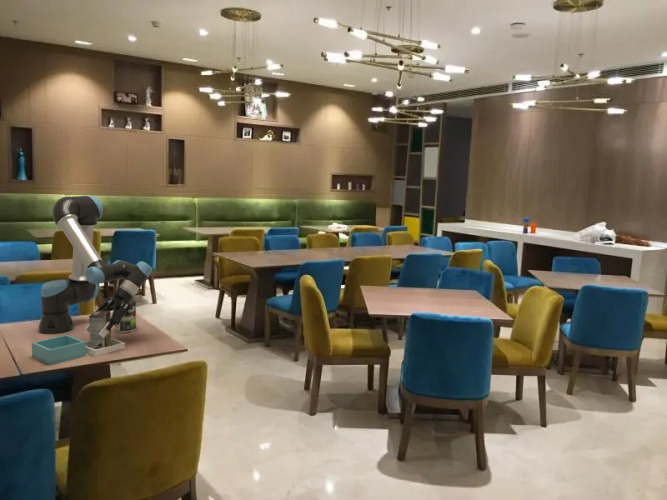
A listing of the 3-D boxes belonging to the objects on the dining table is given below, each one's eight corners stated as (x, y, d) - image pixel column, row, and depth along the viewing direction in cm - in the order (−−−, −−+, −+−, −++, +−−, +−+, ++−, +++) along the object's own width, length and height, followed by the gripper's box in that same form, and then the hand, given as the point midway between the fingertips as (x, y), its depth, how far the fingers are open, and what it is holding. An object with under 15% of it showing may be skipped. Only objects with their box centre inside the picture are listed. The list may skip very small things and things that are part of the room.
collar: (77, 349, 243) (77, 343, 242) (107, 341, 254) (107, 336, 253) (94, 356, 234) (94, 350, 234) (124, 348, 245) (124, 342, 245)
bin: (32, 356, 232) (31, 342, 231) (67, 347, 244) (67, 334, 243) (49, 364, 223) (49, 350, 222) (85, 355, 235) (85, 341, 234)
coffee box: (97, 345, 248) (96, 310, 246) (112, 345, 249) (111, 310, 246) (89, 352, 239) (88, 315, 237) (105, 352, 240) (104, 315, 237)
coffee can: (140, 327, 277) (140, 299, 275) (129, 333, 267) (128, 304, 265) (122, 325, 279) (121, 298, 277) (109, 331, 269) (108, 303, 267)
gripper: (146, 301, 246) (114, 343, 236) (117, 293, 260) (86, 332, 250) (135, 291, 241) (102, 334, 231) (106, 283, 255) (74, 323, 245)
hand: (94, 333), depth 241 cm, fingers closed on coffee box, 10 cm apart
